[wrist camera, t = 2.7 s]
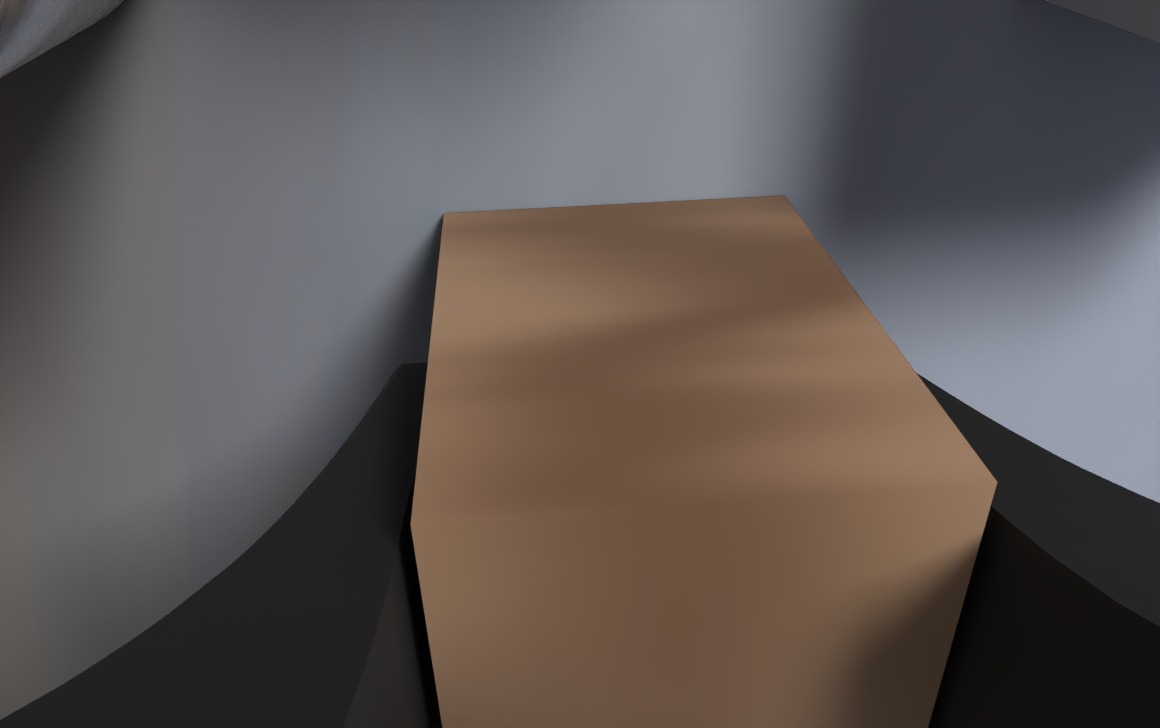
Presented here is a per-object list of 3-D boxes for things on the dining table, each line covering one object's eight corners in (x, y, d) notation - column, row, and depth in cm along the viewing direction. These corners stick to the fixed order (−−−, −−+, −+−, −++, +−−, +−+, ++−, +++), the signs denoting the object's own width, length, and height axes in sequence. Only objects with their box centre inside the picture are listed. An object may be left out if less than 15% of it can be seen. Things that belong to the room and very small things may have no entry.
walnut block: (784, 195, 12) (998, 481, 7) (756, 463, 15) (901, 821, 9) (443, 213, 12) (410, 524, 7) (472, 483, 14) (463, 863, 9)
